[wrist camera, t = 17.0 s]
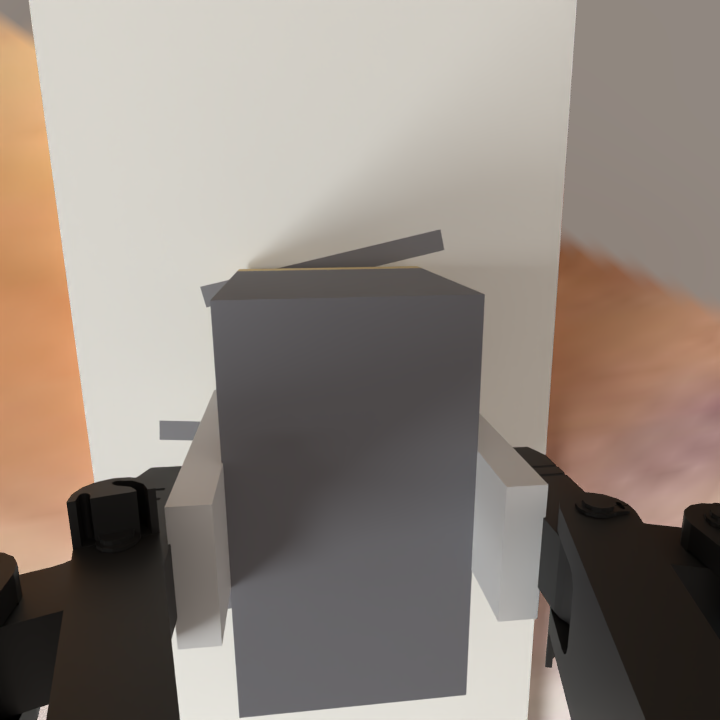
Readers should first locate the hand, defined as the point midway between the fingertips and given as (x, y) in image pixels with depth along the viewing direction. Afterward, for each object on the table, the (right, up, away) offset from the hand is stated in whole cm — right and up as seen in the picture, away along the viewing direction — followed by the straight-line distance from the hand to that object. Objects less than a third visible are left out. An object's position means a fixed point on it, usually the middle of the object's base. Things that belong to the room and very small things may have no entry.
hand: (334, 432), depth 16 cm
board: (0, -1, +3) cm, 3 cm away
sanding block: (0, 0, +1) cm, 1 cm away
